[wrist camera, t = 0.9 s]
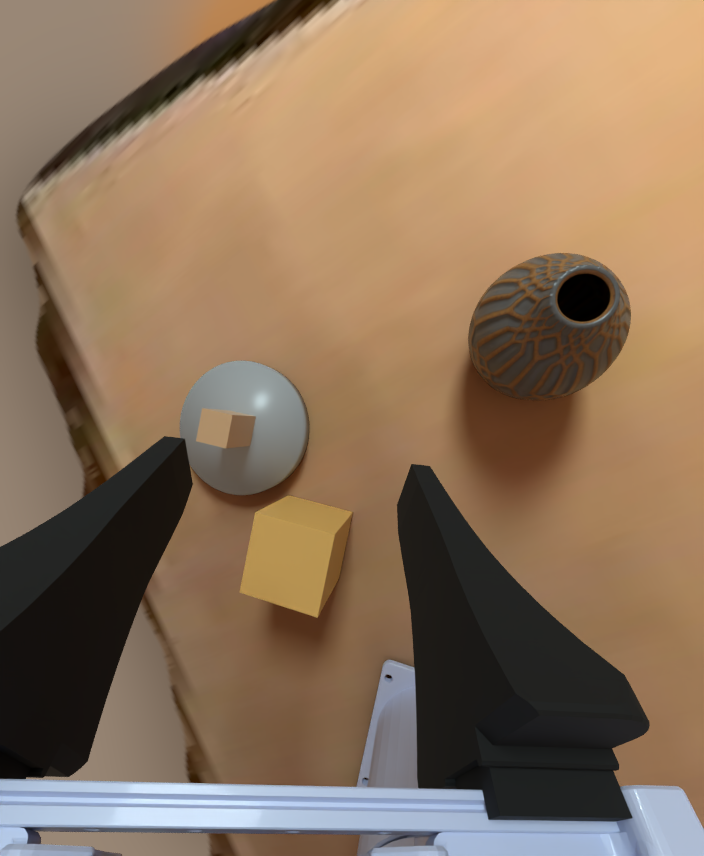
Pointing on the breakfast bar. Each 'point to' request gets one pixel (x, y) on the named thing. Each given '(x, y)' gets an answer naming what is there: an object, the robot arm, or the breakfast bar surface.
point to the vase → (549, 326)
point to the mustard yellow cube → (296, 554)
